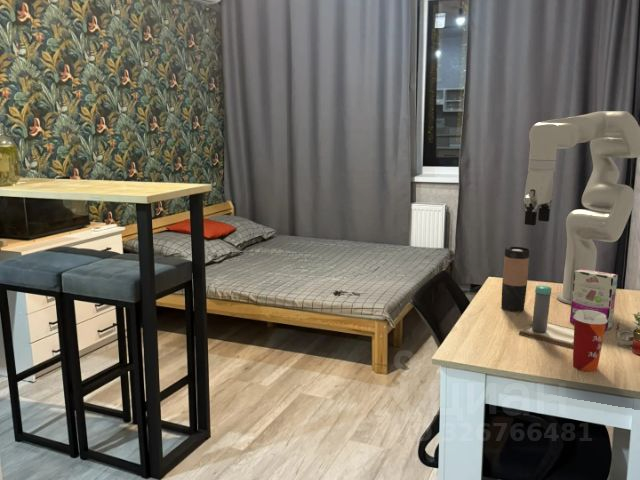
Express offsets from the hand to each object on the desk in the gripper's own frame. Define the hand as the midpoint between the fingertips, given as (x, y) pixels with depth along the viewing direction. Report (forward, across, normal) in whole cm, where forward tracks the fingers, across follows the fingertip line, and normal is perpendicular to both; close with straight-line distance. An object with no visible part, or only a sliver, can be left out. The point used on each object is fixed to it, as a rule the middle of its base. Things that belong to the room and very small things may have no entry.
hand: (536, 222), depth 175 cm
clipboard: (+30, +9, +12) cm, 34 cm away
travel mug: (+31, -6, -8) cm, 32 cm away
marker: (+29, +12, +8) cm, 33 cm away
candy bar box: (+31, -8, +16) cm, 35 cm away
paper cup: (+31, +26, +26) cm, 48 cm away
